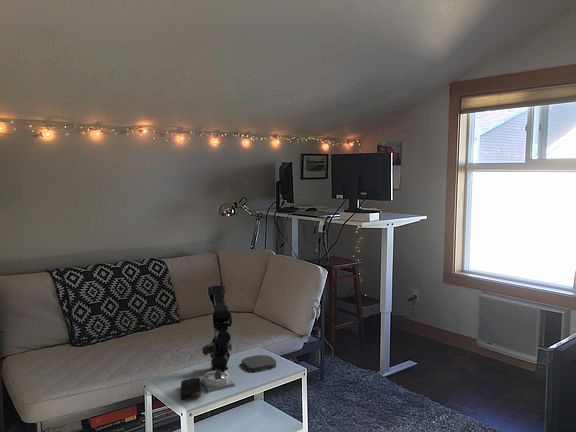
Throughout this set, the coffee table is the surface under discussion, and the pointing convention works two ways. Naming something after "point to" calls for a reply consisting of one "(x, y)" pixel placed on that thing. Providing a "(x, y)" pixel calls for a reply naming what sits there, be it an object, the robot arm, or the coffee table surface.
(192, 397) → the black sponge
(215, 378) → the dial
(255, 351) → the coffee table surface
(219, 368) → the robot arm
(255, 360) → the media streaming box
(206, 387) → the dial panel
